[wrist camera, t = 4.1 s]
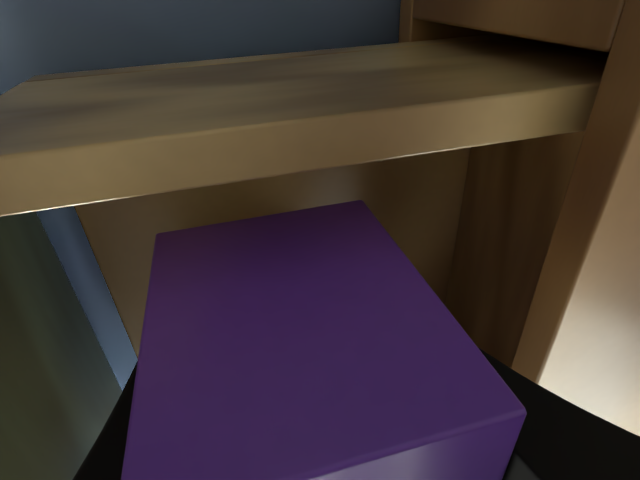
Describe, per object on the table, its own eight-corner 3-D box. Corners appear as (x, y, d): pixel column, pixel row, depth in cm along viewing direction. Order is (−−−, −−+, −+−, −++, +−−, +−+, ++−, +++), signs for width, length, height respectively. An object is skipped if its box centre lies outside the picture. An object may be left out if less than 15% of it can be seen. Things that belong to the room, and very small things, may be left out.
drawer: (-36, 437, 15) (-158, 684, 10) (-366, 68, 8) (-1394, 229, 3) (442, 324, 18) (540, 459, 13) (493, 4, 12) (737, 24, 6)
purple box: (211, 414, 11) (223, 693, 7) (154, 232, 8) (110, 535, 4) (360, 377, 12) (457, 604, 8) (362, 198, 9) (531, 410, 5)
